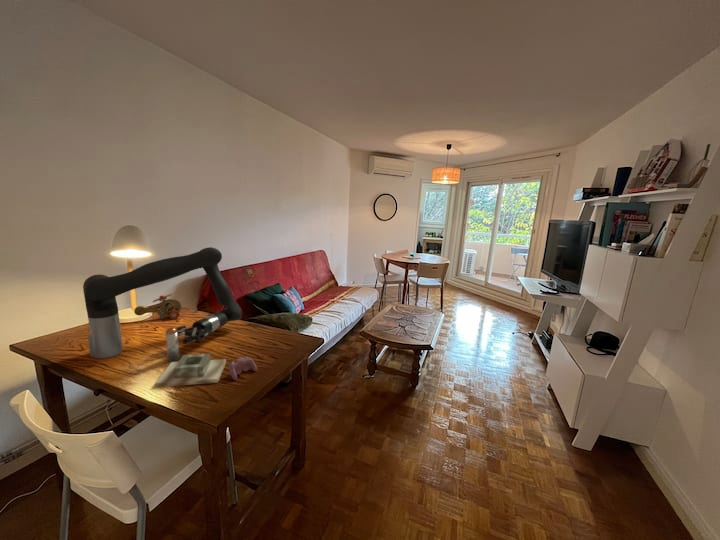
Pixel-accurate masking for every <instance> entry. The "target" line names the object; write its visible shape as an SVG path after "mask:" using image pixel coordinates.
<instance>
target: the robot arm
mask: <svg viewBox="0 0 720 540" xmlns="http://www.w3.org/2000/svg"><path fill="white" fill-rule="evenodd" d="M222 258H223V256H222V252H221V251H220V250H219V249H218V248H215V247H212V246H211V247H204V248H202V249H200V250H199V251H196V252H194V253H190V254H187V255H182V256H181V255H179V256H174V257H168V258H163V259H159V260H155V261H151V262H148V263H146V264H144V265H141V266H139V267H137V268H135V269H133V270H131V271H128V272H126V273H121V274H118V275H113V276H108V275H105V274H94V275H91V276H89V277H87V278H86V279H85V281H83V285H82V286H83V287H82V288H83V289H82V291H83V295H84V302H85V303H84V304H85V309H86V313H87V319H88V325H89V326H88V327H89V334H88V335H87V340H88V341H87V342H88V347H89V354H90V358H94V359H108V358H111V357H115V356H117V355H119V354H121V353H122V352H123V350H124V348H123V347H124V346H123V339H122V331H121V322H120V316H119V307H118V303H117V299H116V297H117V296H120V295H122V294H125V293H127V292H130V291H133V290H136V289H141V288H143V287H146V286H151V285H154V284H158V283H161V282H165V281H168V280H170V279H171V280H172V279H175V278H177V277H179V276H182V275H185V274H187V273H190V272H192V271H195V270H197V269H198V270H199V269H203V270H204V272H205V274H206V276H207V277H208V279H209V282H210V284H211V287H212V289H213V291H214V293H215V297H216V299H217V301H218V304H219V305H220V306H224V307H225V308H224V309H221V310H220V311H218V312H217V313H214V314H212V315H209V316H205V317H203V318H201V319H199V320H196V321H194V322H193V324H192V325H191V326H188V327H186V325H182V326H178V327H175V328H176V329H177V331H178V337H182V338H183V337H184V338H183V339H182V344H183V345H186V344H189V343H190V342H195V341H196V342H200V341H202V340H204V339H205V338H207V337H209V334H211V333H212V332H213V333H214V332H215V331H216V330H217V329H220V328H222V327H224V326H225V325H227V323H229V322H234V321H240V320H241V318H242V316H243V311H242V310H243V309H242V308H241V306H240V305H239V304H238V302H237V301H236V300H235V299H234V296H233V294H232V292H231V289H230V287H229V284H228V282H227V281H226V280H225V278H224V276H223V275H222V273H221V270H220V269H219V263H221V260H222Z"/></svg>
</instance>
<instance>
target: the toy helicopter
mask: <svg viewBox="0 0 720 540" xmlns="http://www.w3.org/2000/svg"><path fill="white" fill-rule="evenodd" d="M172 295H173V294H172V293H170V294H166V295H159V297H158V298H156V299H154V300H153V301H152V303H155V302H159V303H158V304H156V305H154V306H153V305H152V306H143V305H138V306H136V307H135V308H134V310H133V312H134V315H136V316H143V315H145V314H149V313H150V314H152V313H157V314H158V315H159V318H160V319H161V320H163V319H165V318H170V320H176V319H179V318H180V311H181V309H182V304H181V302H180V300H178V299H176V298H168V297H171V296H172Z"/></svg>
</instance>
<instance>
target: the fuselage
mask: <svg viewBox="0 0 720 540" xmlns="http://www.w3.org/2000/svg"><path fill="white" fill-rule="evenodd" d="M176 328H177V327H169V328H167V329H166V331H165V340H166V352H167V353H166V355H167V361H168V362H170V363H171V362H178V361H179V360H180V345H179V336H178V331H177V329H176Z"/></svg>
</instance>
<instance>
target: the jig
mask: <svg viewBox="0 0 720 540" xmlns="http://www.w3.org/2000/svg"><path fill="white" fill-rule="evenodd" d="M226 363H227V359H226V358H223V359H211V353H198V354H197V353H196V354H182V356H181V357H180V358H179V360H178V361H174V362H170V363H169V365H168V366H167V367H166V369H164V371H163V373H162V374H161V375H160V376H159V378H158V379H157V380H156V381H155V384H154V385H155V388H159V387H161V388H163V387H174V386H176V387H177V386H188V385H189V386H191V385H201V384H216V383H218V382H219V381H220V379H221V375H222V374H223V371H224V368H225V366H226Z"/></svg>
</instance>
